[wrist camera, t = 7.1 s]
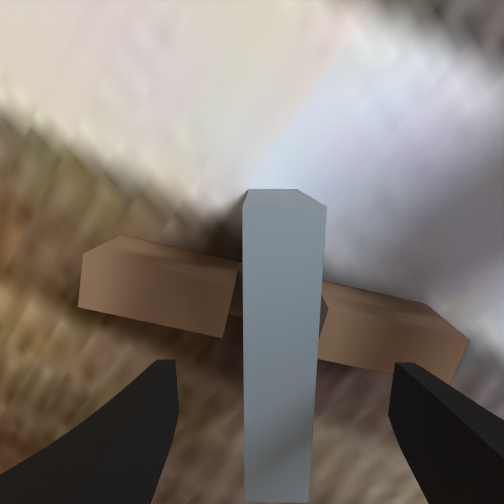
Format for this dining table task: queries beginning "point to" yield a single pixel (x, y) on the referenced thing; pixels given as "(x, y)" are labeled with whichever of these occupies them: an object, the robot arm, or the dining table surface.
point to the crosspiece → (280, 340)
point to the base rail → (231, 303)
